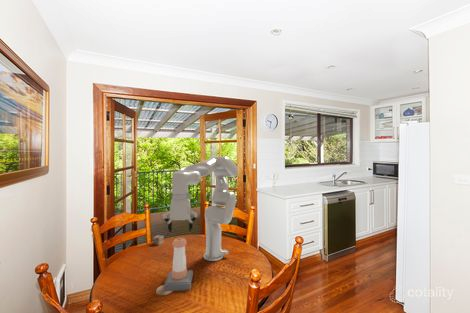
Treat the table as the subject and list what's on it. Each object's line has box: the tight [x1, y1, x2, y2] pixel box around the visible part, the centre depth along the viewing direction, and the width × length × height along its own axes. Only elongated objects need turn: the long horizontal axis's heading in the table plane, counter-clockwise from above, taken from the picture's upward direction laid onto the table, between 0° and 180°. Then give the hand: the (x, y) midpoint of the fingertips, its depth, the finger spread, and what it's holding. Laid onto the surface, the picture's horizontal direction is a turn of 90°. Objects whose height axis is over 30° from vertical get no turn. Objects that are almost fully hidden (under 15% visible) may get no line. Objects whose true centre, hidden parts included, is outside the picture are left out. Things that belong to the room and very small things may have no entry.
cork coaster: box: [155, 284, 173, 296], centre depth 103 cm, size 8×8×1 cm
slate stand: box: [163, 269, 194, 292], centre depth 108 cm, size 12×12×3 cm
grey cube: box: [152, 234, 165, 246], centre depth 156 cm, size 5×5×5 cm
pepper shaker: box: [171, 236, 188, 280], centre depth 109 cm, size 7×7×19 cm
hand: (180, 230), depth 108 cm, fingers open, 9 cm apart
